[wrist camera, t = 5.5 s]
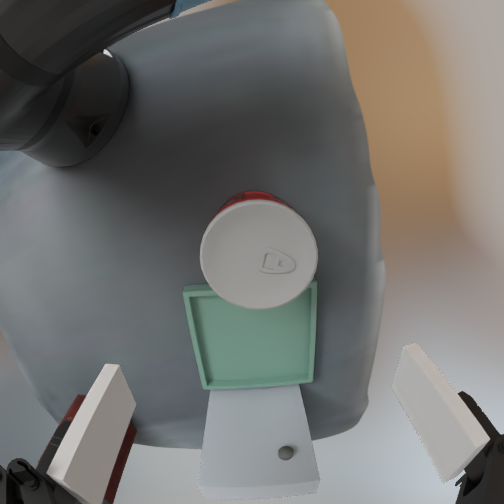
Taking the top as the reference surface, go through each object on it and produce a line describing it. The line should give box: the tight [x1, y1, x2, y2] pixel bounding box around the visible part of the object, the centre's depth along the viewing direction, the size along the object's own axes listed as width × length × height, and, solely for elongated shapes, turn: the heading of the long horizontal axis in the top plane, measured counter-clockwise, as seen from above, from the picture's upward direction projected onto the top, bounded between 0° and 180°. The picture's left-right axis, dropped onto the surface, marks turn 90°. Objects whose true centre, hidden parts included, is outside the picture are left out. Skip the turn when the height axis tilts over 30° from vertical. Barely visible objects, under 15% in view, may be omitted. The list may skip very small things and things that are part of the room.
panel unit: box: [198, 384, 320, 500], centre depth 27 cm, size 5×12×16 cm, turn 94°
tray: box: [182, 277, 317, 389], centre depth 31 cm, size 14×14×2 cm
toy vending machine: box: [35, 395, 137, 504], centre depth 23 cm, size 9×11×28 cm
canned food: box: [200, 191, 318, 310], centre depth 23 cm, size 8×8×11 cm
